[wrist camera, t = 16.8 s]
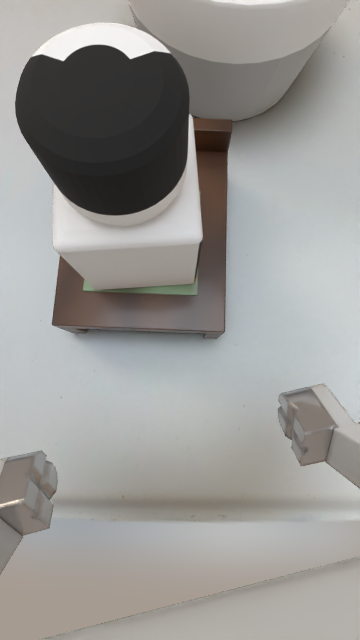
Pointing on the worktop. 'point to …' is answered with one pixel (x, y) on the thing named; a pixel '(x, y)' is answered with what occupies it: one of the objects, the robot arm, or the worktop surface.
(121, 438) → the worktop surface
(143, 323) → the shelf
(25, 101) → the medicine bottle
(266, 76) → the bowl
